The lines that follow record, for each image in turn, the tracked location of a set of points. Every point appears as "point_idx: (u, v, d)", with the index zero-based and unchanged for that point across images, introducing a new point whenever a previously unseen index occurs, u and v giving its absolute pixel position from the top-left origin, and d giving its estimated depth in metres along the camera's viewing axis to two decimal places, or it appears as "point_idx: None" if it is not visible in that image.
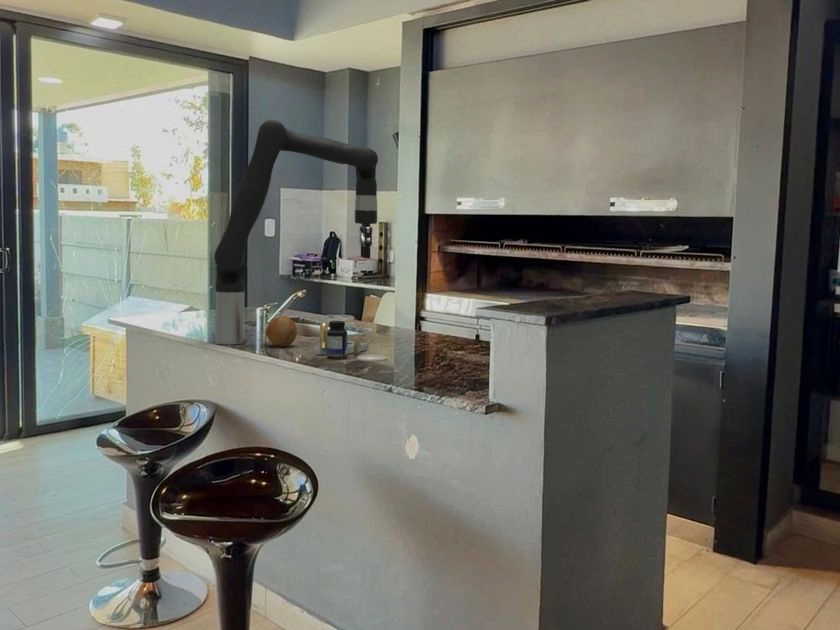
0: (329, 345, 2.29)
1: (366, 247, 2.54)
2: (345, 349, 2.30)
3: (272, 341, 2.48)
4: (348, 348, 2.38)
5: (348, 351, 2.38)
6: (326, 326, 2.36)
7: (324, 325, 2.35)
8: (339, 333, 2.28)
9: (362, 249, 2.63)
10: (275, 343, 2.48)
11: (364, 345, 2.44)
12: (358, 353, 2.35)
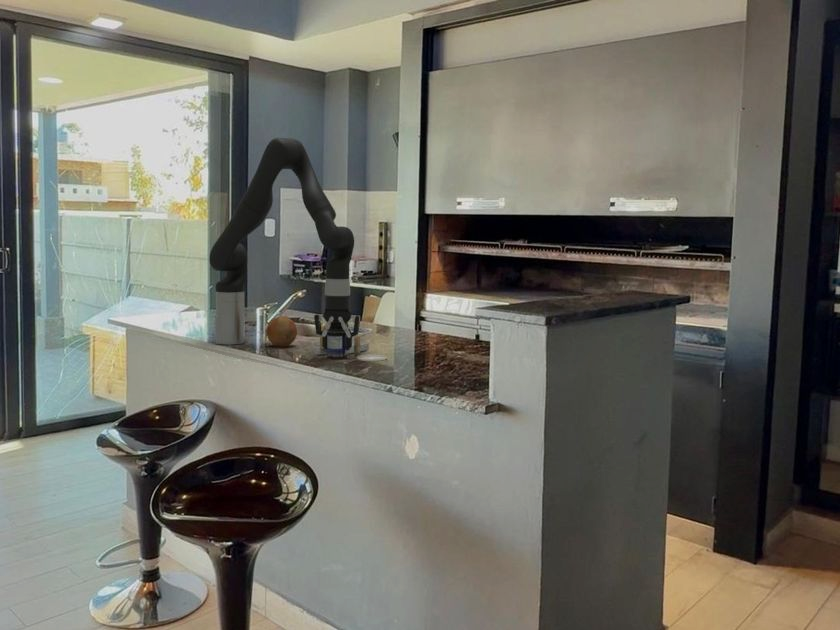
0: (329, 345, 2.29)
1: (351, 337, 2.30)
2: (345, 349, 2.30)
3: (272, 341, 2.48)
4: None
5: (348, 351, 2.38)
6: None
7: (324, 325, 2.35)
8: (339, 333, 2.28)
9: (326, 340, 2.31)
10: (275, 343, 2.48)
11: (364, 345, 2.44)
12: (358, 353, 2.35)
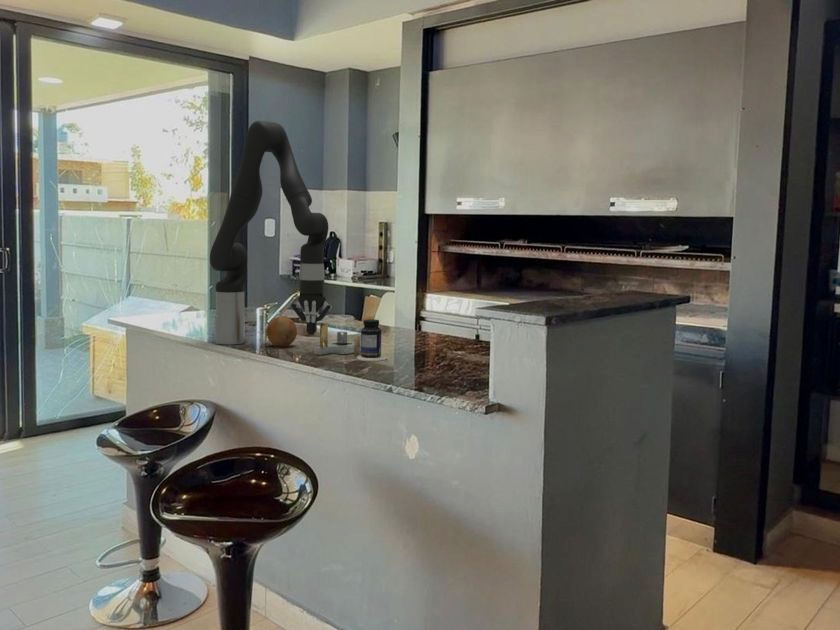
0: (363, 344, 2.28)
1: (316, 323, 2.36)
2: (379, 348, 2.29)
3: (272, 341, 2.48)
4: (348, 348, 2.38)
5: (348, 351, 2.38)
6: (326, 326, 2.36)
7: (324, 325, 2.35)
8: (374, 331, 2.27)
9: None
10: (275, 343, 2.48)
11: None
12: (358, 353, 2.35)
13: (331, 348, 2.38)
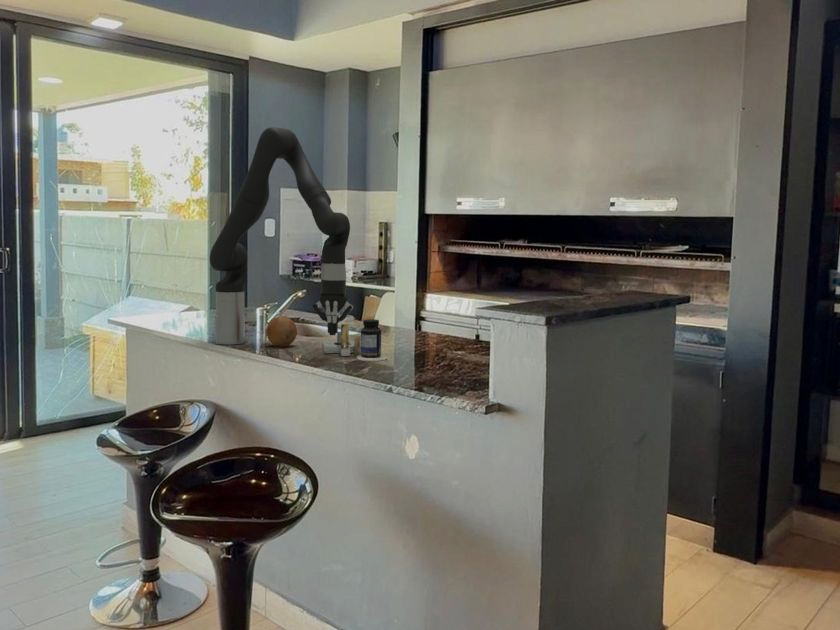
0: (363, 344, 2.28)
1: (337, 323, 2.35)
2: (379, 348, 2.29)
3: (272, 341, 2.48)
4: None
5: None
6: (348, 327, 2.35)
7: (348, 326, 2.35)
8: (373, 331, 2.27)
9: None
10: (275, 343, 2.48)
11: None
12: (358, 353, 2.35)
13: (348, 348, 2.38)
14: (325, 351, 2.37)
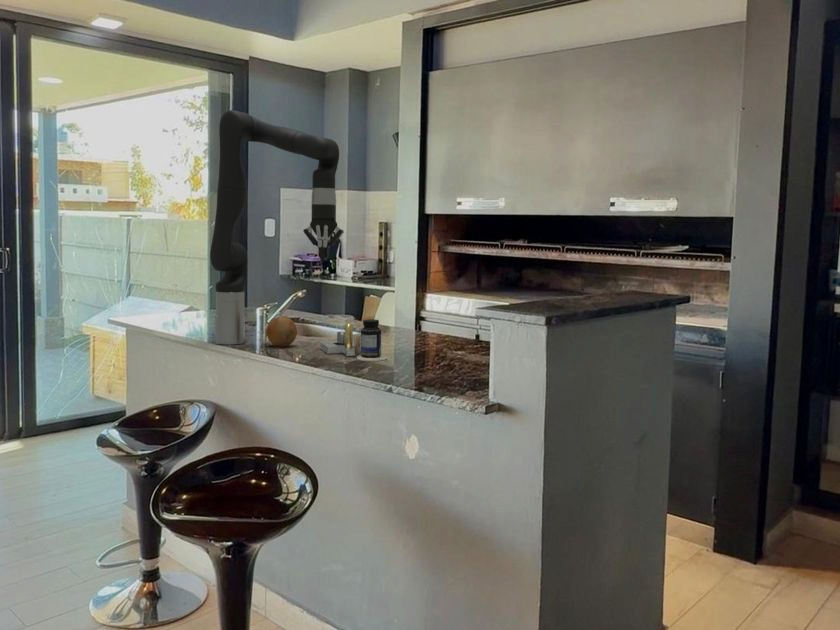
0: (363, 344, 2.28)
1: (327, 247, 2.39)
2: (379, 348, 2.29)
3: (272, 341, 2.48)
4: None
5: None
6: None
7: (352, 326, 2.35)
8: (374, 331, 2.27)
9: None
10: (275, 343, 2.48)
11: None
12: (358, 353, 2.35)
13: None
14: (328, 351, 2.37)
